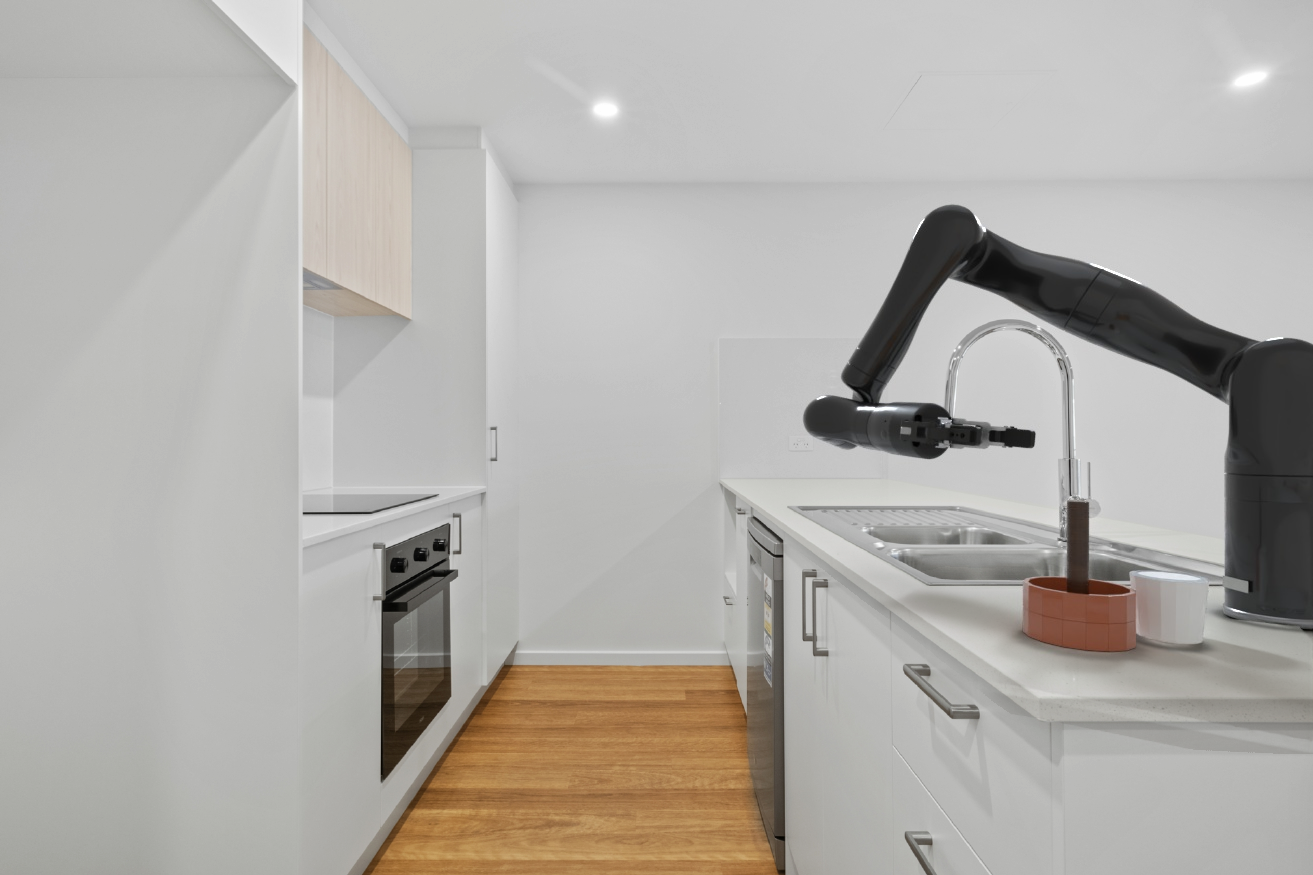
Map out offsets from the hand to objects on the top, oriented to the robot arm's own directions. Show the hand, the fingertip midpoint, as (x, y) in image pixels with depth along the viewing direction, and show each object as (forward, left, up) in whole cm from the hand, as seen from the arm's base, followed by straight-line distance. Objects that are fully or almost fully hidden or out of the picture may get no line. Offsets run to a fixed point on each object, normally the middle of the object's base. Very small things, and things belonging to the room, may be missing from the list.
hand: (1006, 438), depth 81 cm
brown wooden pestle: (+5, +7, -21) cm, 23 cm away
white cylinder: (-1, +15, -22) cm, 26 cm away
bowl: (+5, +7, -21) cm, 23 cm away
